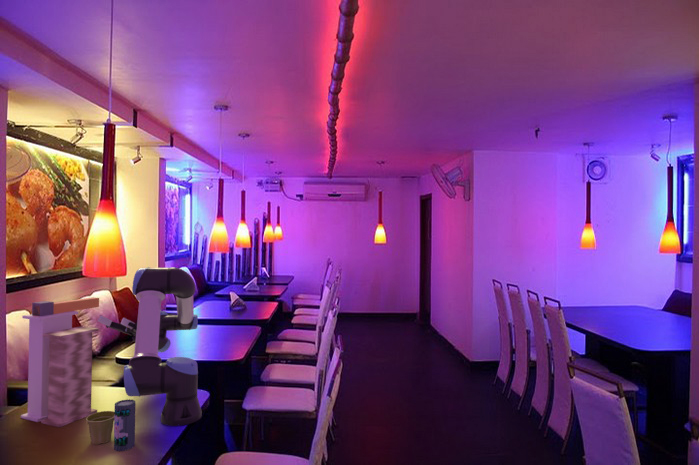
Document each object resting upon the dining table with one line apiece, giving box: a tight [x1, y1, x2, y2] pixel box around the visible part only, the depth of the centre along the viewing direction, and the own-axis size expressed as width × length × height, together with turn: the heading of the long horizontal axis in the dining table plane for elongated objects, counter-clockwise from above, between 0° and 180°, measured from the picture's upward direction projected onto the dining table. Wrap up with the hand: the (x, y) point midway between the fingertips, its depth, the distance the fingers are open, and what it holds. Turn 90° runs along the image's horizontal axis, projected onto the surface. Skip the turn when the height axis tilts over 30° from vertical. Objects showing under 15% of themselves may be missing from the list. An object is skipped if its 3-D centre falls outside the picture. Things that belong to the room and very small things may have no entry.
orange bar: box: [31, 297, 100, 316], centre depth 189 cm, size 26×5×5 cm, turn 158°
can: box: [113, 399, 136, 452], centre depth 154 cm, size 6×6×15 cm
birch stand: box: [40, 325, 100, 428], centre depth 178 cm, size 16×10×34 cm, turn 158°
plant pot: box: [85, 410, 115, 445], centre depth 158 cm, size 9×9×9 cm
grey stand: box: [20, 310, 79, 423], centre depth 182 cm, size 16×10×40 cm, turn 158°
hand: (110, 319), depth 195 cm, fingers open, 13 cm apart
